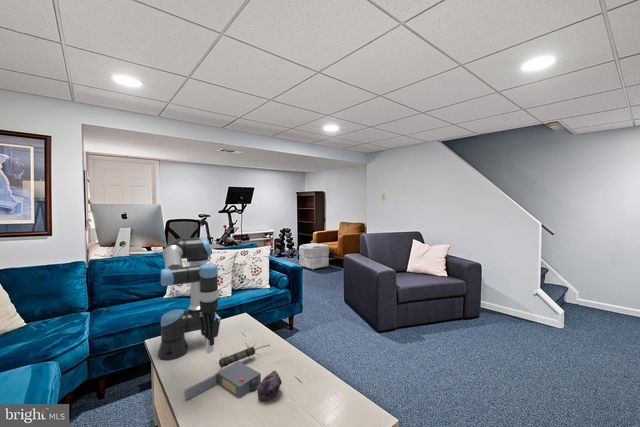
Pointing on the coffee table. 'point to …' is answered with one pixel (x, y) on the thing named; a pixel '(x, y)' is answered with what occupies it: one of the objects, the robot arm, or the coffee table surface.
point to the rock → (269, 386)
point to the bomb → (238, 356)
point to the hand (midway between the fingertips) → (209, 351)
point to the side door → (200, 387)
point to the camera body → (239, 378)
